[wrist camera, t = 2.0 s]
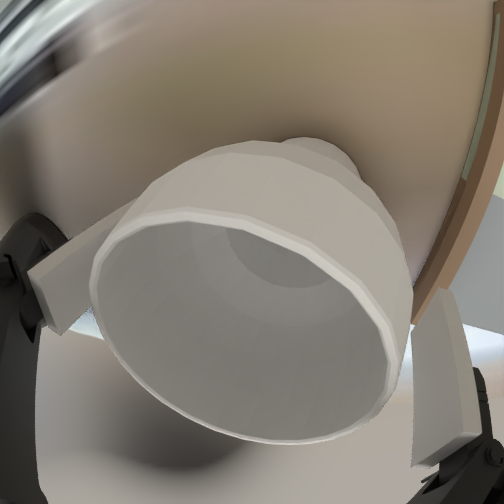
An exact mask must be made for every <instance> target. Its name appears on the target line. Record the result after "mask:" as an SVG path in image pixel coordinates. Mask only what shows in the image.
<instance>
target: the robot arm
mask: <svg viewBox="0 0 504 504" xmlns="http://www.w3.org/2000/svg"><path fill="white" fill-rule="evenodd" d="M137 199H138V198H135V199H134V200H132V201H130V202H129V203H127V204H125V205H124V206H122V207H120V208H119V209H117V210H116V211H114V212H112V213H111V214H109V215H108V216H106V217H104V218H103V219H101V220H100V221H98V222H97V223H95V224H94V225H92V226H91V227H89V228H88V229H86V230H85V231H83V232H82V233H80V234H79V235H77V236H76V237H74V238H72V239H69V240H66V239H65V238H64V236H63V235H62V234H61V232H60V231H59V230H58V229H57V228H56V227H55V226H54V225H53V224H52V223H51V222H50V221H49V220H48V219H46V218H45V217H43V216H42V215H40V214H37V213H29V214H27V215H26V216H24V217H22V218H21V219H19V220H18V221H16V222H15V223H14V224H13V226H12V227H11V228H10V230H9V231H8V232H7V233H6V235H5V236H4V237H3V239H2V240H1V241H0V504H48V502H47V499H46V497H45V495H44V494H43V492H42V491H41V489H40V486H39V481H38V472H37V461H36V446H35V388H36V387H35V386H36V372H37V361H38V351H39V342H40V335H41V328H42V327H44V326H47V325H48V327H49V328H50V329H51V330H53V331H54V332H55V333H57V334H58V335H60V336H61V335H62V334H63V333H64V332H65V331H66V330H67V329H68V328H69V327H70V326H71V325H72V324H73V323H74V322H75V321H76V320H77V319H78V318H79V317H80V316H81V315H82V314H83V313H84V312H86V311H87V310H88V309H89V308H90V307H91V306H92V304H91V297H90V289H89V282H90V276H91V271H92V266H93V261H94V257H95V255H96V253H97V252H98V250H99V249H100V247H101V246H102V244H103V243H104V241H105V240H106V238H107V237H108V235H109V234H110V232H111V231H112V230H113V229H114V227H115V226H116V225H117V223H118V222H119V221H120V220H121V218H122V217H123V216H124V215H125V214H126V212H127V211H128V210H129V209H130V207H131V206H132V205H133V204H134V203H135V201H136V200H137ZM411 345H412V361H413V388H414V419H413V445H412V446H413V447H412V460H411V468H423V469H429V468H431V467H433V466H434V465H436V464H438V463H439V471H437V472H436V473H434V474H432V475H430V476H428V477H426V478H425V479H423V480H422V481H421V483H424V482H426V481H428V482H427V483H426V484H425V485H424V486H423V487H422V488H421V489H420V490H419V491H418V493H417V494H416V495H415V496H414V497H413V498H412V499H411V500H410V501H409V502H408V503H407V504H504V448H503V446H502V444H501V443H500V442H499V441H497V440H496V439H493V434H492V425H491V417H490V410H489V404H488V403H487V402H488V397H487V394H486V386H485V381H484V378H483V376H482V374H481V372H480V371H479V369H478V368H475V367H472V362H471V358H470V353H469V349H468V345H467V340H466V336H465V333H464V329H463V325H462V321H461V318H460V314H459V311H458V307H457V304H456V301H455V298H454V295H453V292H452V291H449V290H446V289H443V288H440V287H438V288H437V290H436V292H435V294H434V296H433V297H432V299H431V301H430V302H429V304H428V306H427V308H426V309H425V311H424V312H423V314H422V316H421V317H420V319H419V321H418V322H417V324H416V325H415V327H414V328H413V330H412V332H411Z"/></svg>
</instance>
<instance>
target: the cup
mask: <svg viewBox="0 0 504 504" xmlns="http://www.w3.org/2000/svg"><path fill="white" fill-rule="evenodd" d="M89 289H90V297H91V304H92V311H93V314H94V316H95V319H96V321H97V324H98V326H99V329H100V331H101V334H102V336H103V338H104V339H105V341H106V342H107V344H108V346H109V347H110V349H111V350H112V352H113V353H114V355H115V356H116V358H117V359H118V360H119V362H120V363H121V364H122V365H123V367H124V368H125V369H126V370H127V371H128V372H129V373H130V374H131V375H132V377H133V378H134V379H135V380H136V381H137V382H138V383H139V384H140V385H142V386H143V387H144V388H145V389H146V390H148V391H149V392H150V393H151V394H152V395H154V396H155V397H156V398H157V399H159V400H160V401H161V402H163V403H164V404H166V405H167V406H169V407H170V408H172V409H174V410H175V411H177V412H178V413H180V414H182V415H184V416H185V417H187V418H189V419H191V420H193V421H195V422H197V423H199V424H201V425H203V426H206V427H208V428H211V429H212V430H215V431H218V432H221V433H224V434H227V435H230V436H234V437H237V438H240V439H244V440H250V441H255V442H261V443H268V444H283V445H303V444H310V443H317V442H323V441H329V440H332V439H335V438H338V437H340V436H343V435H346V434H348V433H351V432H353V431H356V430H357V429H359V428H360V427H362V426H363V425H364V424H366V423H367V422H369V421H370V420H371V419H373V418H374V417H375V416H377V415H378V414H379V412H380V411H381V410H382V408H383V407H384V405H385V404H386V403H387V401H388V400H389V398H390V397H391V395H392V394H393V392H394V391H395V389H396V385H397V381H398V377H399V374H400V370H401V366H402V361H403V357H404V353H405V348H406V344H407V339H408V334H409V329H410V322H411V313H412V304H413V289H412V284H411V279H410V275H409V270H408V266H407V262H406V258H405V254H404V250H403V247H402V243H401V240H400V236H399V233H398V230H397V226H396V223H395V222H394V220H393V219H392V217H391V216H390V214H389V213H388V211H387V210H386V208H385V207H384V205H383V204H382V202H381V201H380V199H379V198H378V196H377V195H376V194H375V192H374V191H373V190H372V189H371V188H370V187H369V186H368V185H366V184H365V183H364V182H363V181H362V180H361V177H360V175H359V172H358V170H357V167H356V166H355V165H354V163H353V162H352V161H351V159H350V158H349V157H348V155H347V154H345V153H344V152H343V151H342V150H340V149H339V148H338V147H336V146H335V145H333V144H331V143H328V142H326V141H323V140H321V139H317V138H309V137H300V138H293V139H288V140H286V141H283V142H281V143H277V142H266V141H255V140H252V141H247V142H241V143H236V144H231V145H227V146H222V147H217V148H214V149H211V150H209V151H207V152H205V153H203V154H201V155H199V156H196V157H194V158H192V159H190V160H188V161H186V162H184V163H183V164H181V165H179V166H178V167H176V168H174V169H173V170H171V171H169V172H168V173H166V174H164V175H163V176H161V177H160V178H158V179H156V180H155V181H153V182H152V183H151V184H150V185H149V186H148V187H147V189H146V190H145V191H144V192H143V193H142V194H141V196H140V197H139V198H138V199H137V200H136V201H135V203H134V204H133V205H132V206H131V207H130V209H129V210H128V211H127V212H126V214H125V215H124V216H123V217H122V218H121V220H120V221H119V222H118V223H117V225H116V226H115V227H114V229H113V230H112V231H111V232H110V234H109V235H108V237H107V238H106V240H105V241H104V243H103V244H102V246H101V247H100V249H99V250H98V252H97V253H96V255H95V257H94V261H93V266H92V271H91V276H90V282H89Z"/></svg>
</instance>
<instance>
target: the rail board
mask: <svg viewBox="0 0 504 504" xmlns="http://www.w3.org/2000/svg"><path fill="white" fill-rule="evenodd" d="M438 287H440V288H443V289H446V290H449V291H452V292H453V295H454V298H455V301H456V304H457V307H458V311H459V314H460V318H461V321H462V323H463V324H466V325H470V326H473V327H477V328H481V329H484V330H488V331H491V332H495V333H499V334H502V335H504V0H498V1H496V2H494V10H493V28H492V39H491V49H490V57H489V64H488V71H487V77H486V82H485V88H484V93H483V98H482V103H481V107H480V112H479V116H478V120H477V124H476V128H475V132H474V136H473V139H472V143H471V146H470V150H469V153H468V156H467V160H466V163H465V166H464V169H463V172H462V175H461V178H460V181H459V184H458V187H457V189H456V192H455V195H454V198H453V200H452V203H451V205H450V208H449V211H448V213H447V216H446V218H445V220H444V223H443V225H442V228H441V230H440V232H439V235H438V237H437V239H436V241H435V244H434V246H433V248H432V250H431V252H430V255H429V257H428V259H427V261H426V263H425V265H424V267H423V269H422V271H421V273H420V275H419V277H418V279H417V281H416V283H415V285H414V287H413V304H412V313H411V324H413V325H416V324H417V322H418V321H419V319H420V317H421V316H422V314H423V312H424V311H425V309H426V308H427V306H428V304H429V302H430V301H431V299H432V297H433V296H434V294H435V292H436V290H437V288H438Z"/></svg>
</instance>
